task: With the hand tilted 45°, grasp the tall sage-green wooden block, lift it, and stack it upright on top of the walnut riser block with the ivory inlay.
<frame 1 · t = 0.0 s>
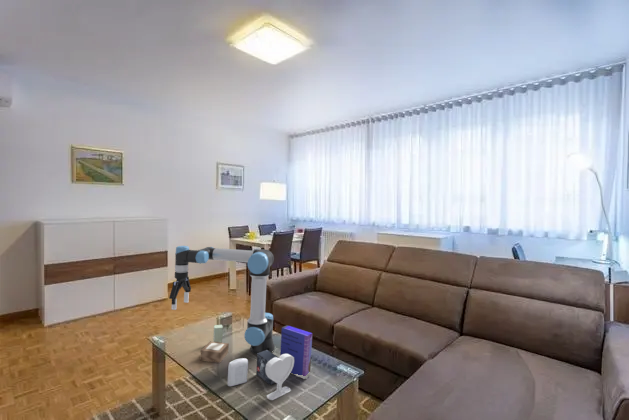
hand: (180, 305, 194), 28 cm above the table, tool pointing down, fingers open, 13 cm apart
heart sculpture: (278, 393, 157), on the table
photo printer: (237, 383, 164), on the table
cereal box: (294, 372, 176), on the table
walnut riser block: (214, 356, 190), on the table
small box: (267, 378, 170), on the table
sage block: (217, 344, 205), on the table
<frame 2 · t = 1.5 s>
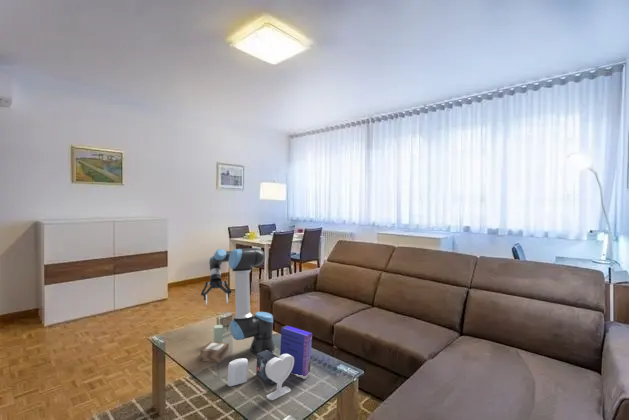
hand: (217, 303, 214), 24 cm above the table, tool tilted 45°, fingers open, 13 cm apart
nothing on the table moved.
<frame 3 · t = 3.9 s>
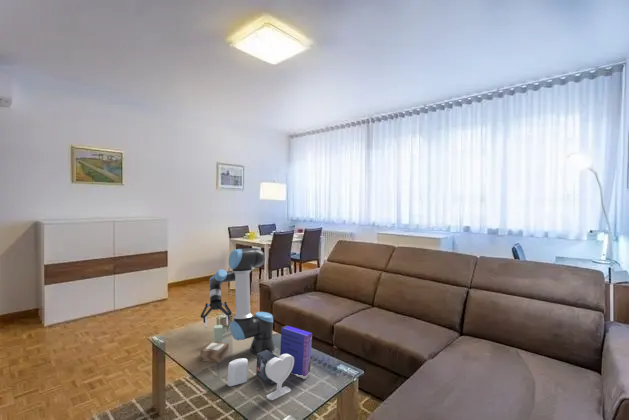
hand: (216, 326, 209), 10 cm above the table, tool tilted 45°, fingers open, 13 cm apart
nothing on the table moved.
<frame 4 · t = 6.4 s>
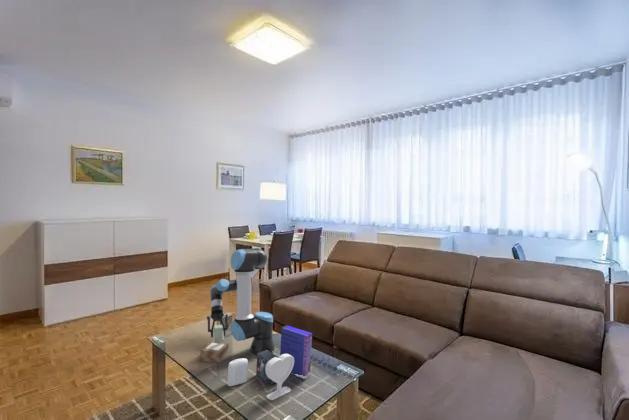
hand: (218, 341, 202), 4 cm above the table, tool tilted 45°, fingers closed on sage block, 5 cm apart
sage block: (217, 344, 205), on the table, touching gripper
everything else where it was.
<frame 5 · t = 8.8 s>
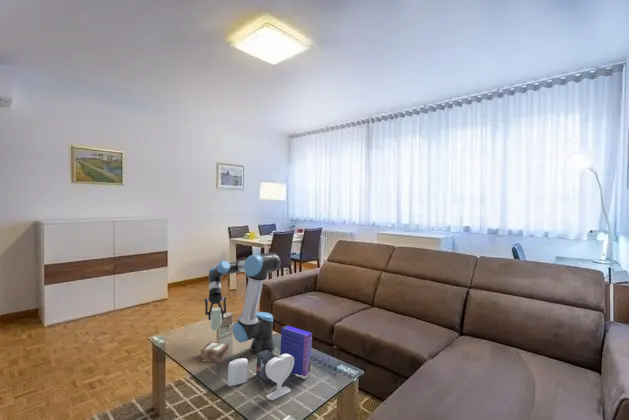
hand: (216, 324, 192), 18 cm above the table, tool tilted 45°, fingers closed on sage block, 5 cm apart
sage block: (215, 328, 196), point 14 cm above the table, touching gripper
everything else where it was.
when the fingers open (11 cm above the table, at t = 11.3 s): sage block drops 1 cm, resting on walnut riser block.
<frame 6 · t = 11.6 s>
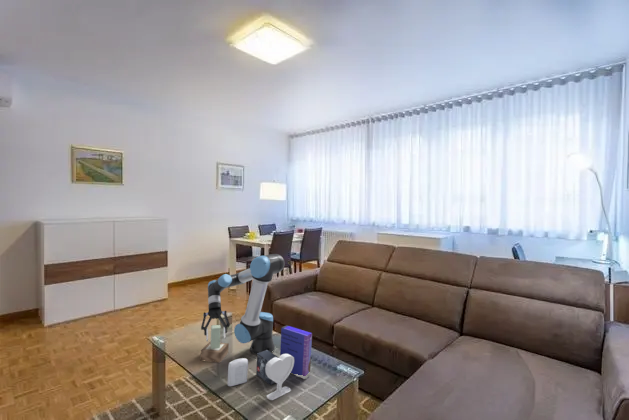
hand: (216, 339, 186), 12 cm above the table, tool tilted 45°, fingers open, 9 cm apart
sage block: (215, 346, 190), point 6 cm above the table, touching walnut riser block
everything else where it was.
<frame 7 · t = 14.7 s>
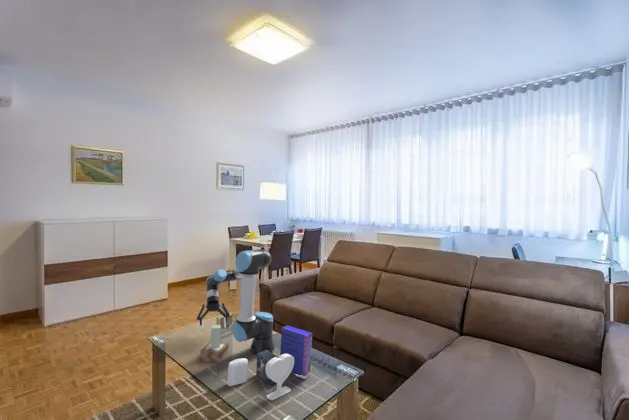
hand: (214, 328, 199), 13 cm above the table, tool tilted 45°, fingers open, 13 cm apart
nothing on the table moved.
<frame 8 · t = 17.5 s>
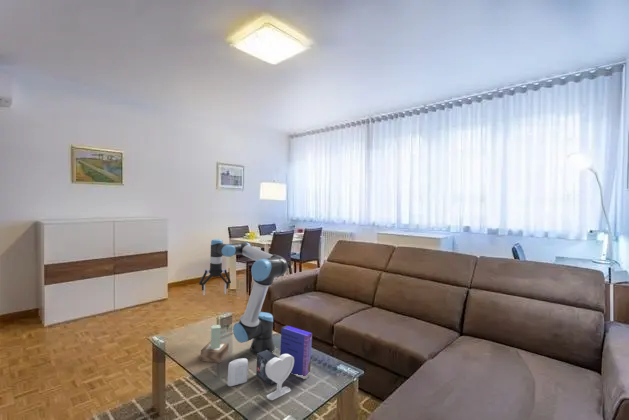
hand: (214, 294, 211), 31 cm above the table, tool pointing down, fingers open, 13 cm apart
nothing on the table moved.
at the end: sage block inside the target area on the walnut riser block (0.0 cm from its centre), point 6.2 cm above the walnut riser block's base; sage block tilted 0°; the gripper is holding nothing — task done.
